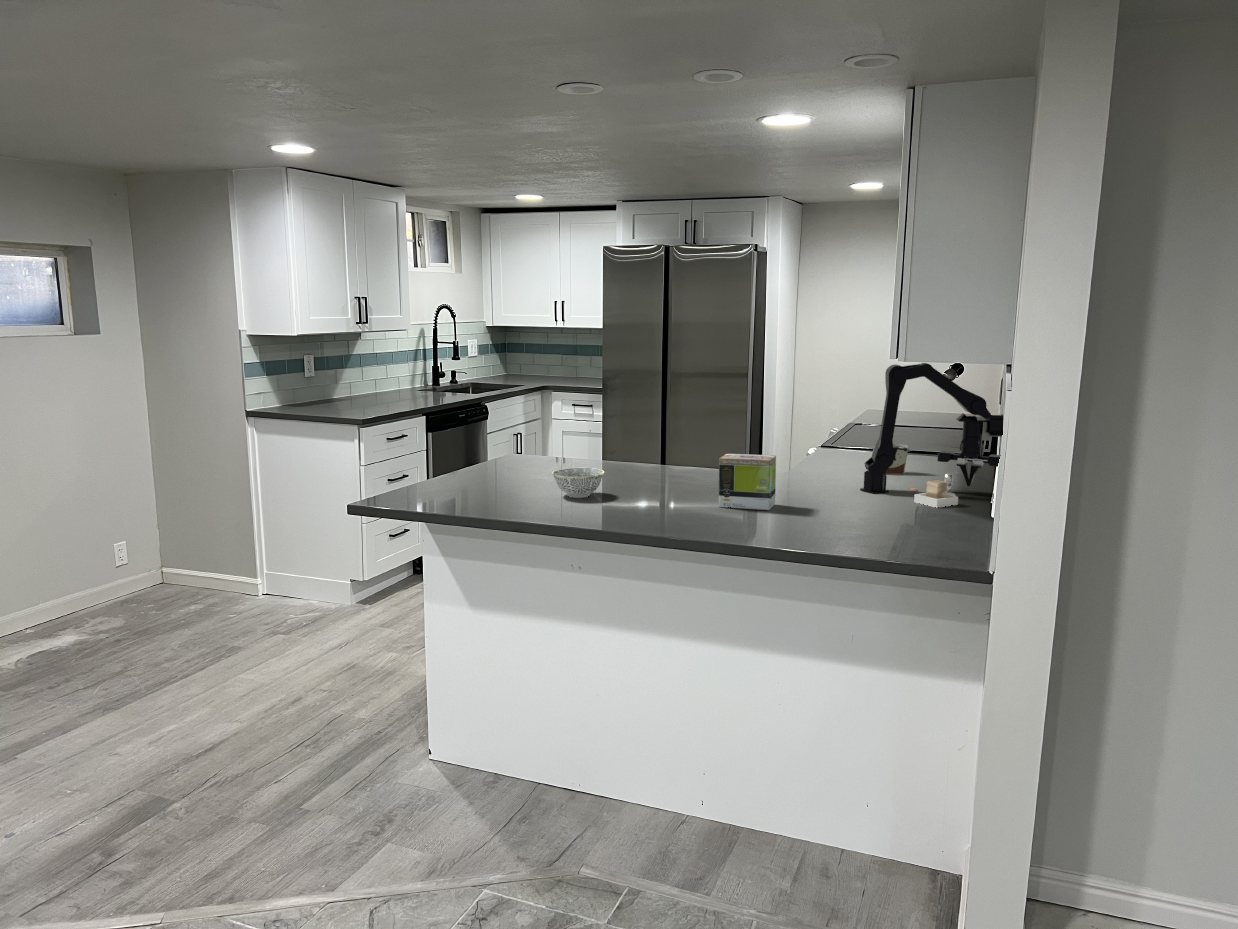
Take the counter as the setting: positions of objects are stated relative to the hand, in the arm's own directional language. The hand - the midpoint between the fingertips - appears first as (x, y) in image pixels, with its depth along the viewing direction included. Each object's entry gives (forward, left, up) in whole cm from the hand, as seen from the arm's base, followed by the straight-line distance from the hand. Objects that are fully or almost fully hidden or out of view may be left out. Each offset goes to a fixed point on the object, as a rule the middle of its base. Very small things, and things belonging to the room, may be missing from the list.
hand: (968, 486), depth 279 cm
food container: (+5, +39, -3) cm, 39 cm away
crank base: (-11, +5, -2) cm, 12 cm away
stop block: (-20, -5, -2) cm, 21 cm away
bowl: (-108, +55, -3) cm, 121 cm away
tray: (-20, -5, -2) cm, 21 cm away
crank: (-7, +3, -1) cm, 8 cm away
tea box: (-71, +19, -3) cm, 73 cm away
